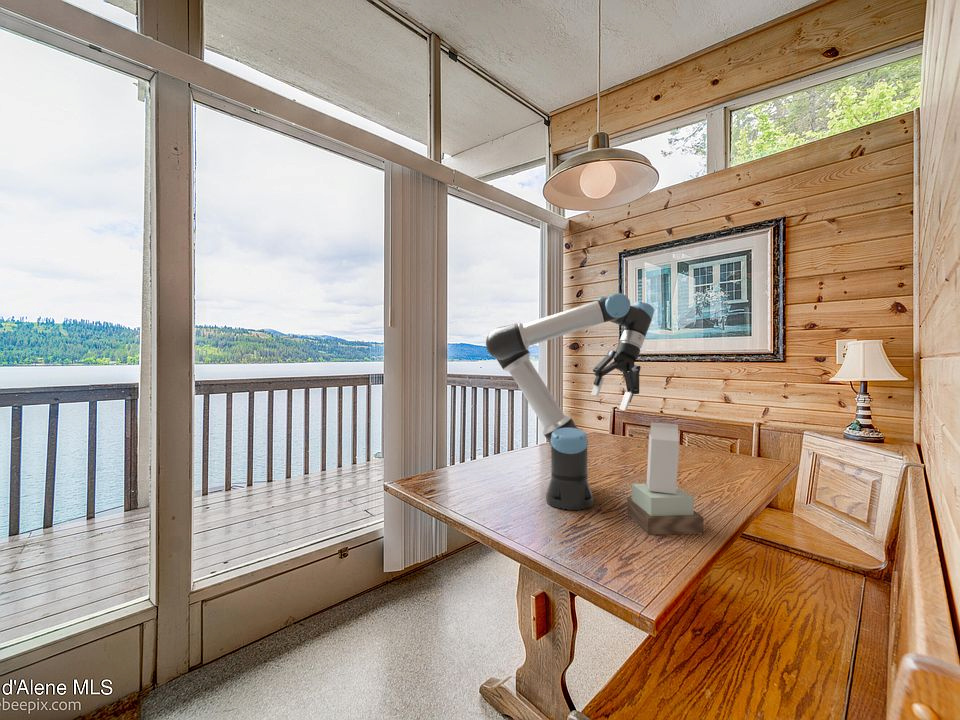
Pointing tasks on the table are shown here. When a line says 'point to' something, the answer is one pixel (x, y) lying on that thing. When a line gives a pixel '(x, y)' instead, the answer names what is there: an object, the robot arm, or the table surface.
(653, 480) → the milk carton
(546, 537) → the table surface
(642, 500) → the tower top
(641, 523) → the tower base
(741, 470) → the table surface
